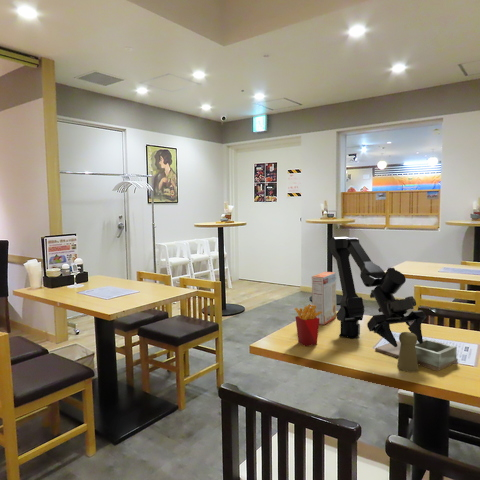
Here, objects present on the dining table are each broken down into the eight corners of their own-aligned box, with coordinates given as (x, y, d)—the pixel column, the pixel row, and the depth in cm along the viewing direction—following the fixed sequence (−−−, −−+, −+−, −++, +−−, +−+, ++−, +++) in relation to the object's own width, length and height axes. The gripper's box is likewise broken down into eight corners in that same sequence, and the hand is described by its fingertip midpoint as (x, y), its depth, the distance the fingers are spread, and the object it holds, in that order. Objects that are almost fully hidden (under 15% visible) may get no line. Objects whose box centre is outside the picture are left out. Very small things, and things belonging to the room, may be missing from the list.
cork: (420, 372, 119) (421, 336, 118) (399, 371, 120) (399, 335, 119) (415, 364, 125) (416, 330, 124) (395, 363, 126) (395, 329, 125)
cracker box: (324, 316, 183) (324, 271, 182) (336, 317, 180) (336, 272, 178) (311, 323, 172) (311, 275, 170) (324, 325, 168) (324, 276, 167)
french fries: (294, 342, 148) (294, 302, 147) (313, 338, 151) (313, 300, 150) (307, 349, 140) (307, 307, 139) (327, 346, 143) (327, 305, 142)
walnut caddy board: (375, 350, 138) (375, 336, 137) (396, 343, 144) (396, 329, 144) (437, 371, 120) (437, 354, 119) (457, 361, 126) (457, 346, 126)
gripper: (372, 290, 123) (395, 335, 113) (422, 285, 128) (448, 328, 118) (358, 309, 131) (378, 353, 121) (405, 304, 136) (429, 346, 126)
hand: (409, 344), depth 121 cm, fingers open, 9 cm apart
